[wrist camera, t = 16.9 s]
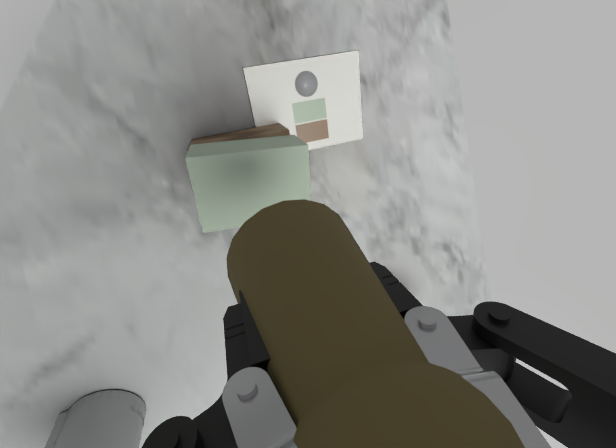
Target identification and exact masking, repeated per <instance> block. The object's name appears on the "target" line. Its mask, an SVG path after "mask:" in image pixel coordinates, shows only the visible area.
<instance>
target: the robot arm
mask: <svg viewBox="0 0 616 448" xmlns="http://www.w3.org/2000/svg"><path fill="white" fill-rule="evenodd" d="M369 264H370V265H371V267H372V269H373V271H374V272H375V274H376V276H377V277H378V279H379V280H380V282H381V284H382V285H383V287H384V289H385V290H386V292H387V294H388V295H389V297H390V298H391V300H392V302H393V303H394V305H395V307H396V308H397V310H398V311H399V313H400V315H401V316H402V317H403V319H404V321H405V323H406V325H407V326H408V328H409V330H410V331H411V333H412V335H413V336H414V338H415V339H416V341H417V343H418V344H419V346H420V348H421V349H422V351H423V353H424V355H425V356H426V358H427V360H428V362H429V363H431V364H434V365H437V366H441V367H444V368H447V369H449V370H451V371H453V372H455V373H458V374H460V375H461V376H462V377H463V378H464V379H465V380H466V381H468V382H469V383H470V384H472V385H473V386H474V387H476V388H477V389H479V390H480V391H481V392H483V393H484V394H485V395H486V396H487V397H488V398H489V399H490V400H491V401H492V402H493V403H494V405H495V406H496V407H497V408H498V409H499V410H500V411H501V412H502V413H503V414H504V415H505V417H506V418H507V419H508V420H509V421H510V422H511V423H512V425H513V427H514V429H515V431H516V432H517V434H518V436H519V438H520V439H521V441H522V443H523V445H524V447H525V448H551V447H550V445H549V444H548V442H547V441H546V440H545V438H544V437H543V435H542V434H541V433H540V431H539V430H538V428H540V429H541V430H543V431H544V432H546V433H547V434H549V435H550V436H552V437H553V438H555V439H556V440H557V441H559V442H560V443H562V444H563V445H565V446H566V447H568V448H616V354H615V353H613V352H611V351H609V350H606V349H604V348H602V347H600V346H598V345H595V344H593V343H590V342H589V341H586V340H584V339H582V338H580V337H577V336H575V335H573V334H571V333H569V332H566V331H564V330H562V329H560V328H557V327H555V326H553V325H551V324H548V323H546V322H544V321H542V320H540V319H537V318H535V317H533V316H531V315H528V314H526V313H524V312H522V311H519V310H517V309H515V308H512V307H510V306H508V305H506V304H503V303H498V302H483V303H480V304H478V305H477V306H476V307H475V309H474V313H473V315H466V316H446V315H445V314H444V313H442V312H441V311H439V310H437V309H435V308H432V307H427V306H423V305H422V304H421V303H420V302H419V301H418V300H417V299H416V298H415V297H414V296H413V295H412V294H411V293H410V292H409V291H408V290H407V289H406V288H405V287H404V286H403V285H402V284H401V283H399V281H398V280H397V278H396V277H395V276H393V274H392V273H391V272H390V271H389V270H388V269H387V268H386V267H385V266H382V265H380V264H378V263H376V262H371V263H369ZM239 296H240V302H241V303H240V304H236V305H233V306H230V307H228V309H227V311H226V313H225V316H224V318H223V320H224V330H225V331H224V334H225V347H226V361H227V374H228V379H227V383H226V385H225V387H224V390H223V393H222V395H221V396H220V398H219V399H218V400H217V401H216V402H215V403H214V404H213V405H212V406H211V407H210V408H208V409H207V410H205V411H204V412H203V413H201V414H200V415H199V416H197V417H196V418H194V419H193V420H192V419H190V418H189V417H186V416H176V417H173V418H170V419H168V420H166V421H164V422H163V423H161V424H160V425H159V426H158V427H156V428H155V429H154V430H153V431H152V433H151V434H150V435H149V436H148V438H147V439H146V441H145V443H144V444H143V446H142V448H297V445H296V444H295V443H294V441H293V439H294V435H295V432H296V429H297V428H296V426H295V424H294V422H293V420H292V418H291V416H290V415H289V413H288V411H287V409H286V407H285V405H284V403H283V401H282V399H281V398H280V396H279V394H278V392H277V390H276V388H275V386H274V384H273V382H272V381H271V378H270V376H269V373H268V371H267V366H268V364H269V361H270V359H271V358H270V355H269V353H268V351H267V349H266V346H265V344H264V342H263V339H262V337H261V335H260V333H259V330H258V328H257V326H256V324H255V321H254V319H253V317H252V314H251V312H250V310H249V308H248V305H247V303H246V301H245V298H244V296H243V294H242V292H241V290H239ZM516 358H517V359H519V360H521V361H523V362H524V363H526V364H528V365H530V366H531V367H533V368H535V369H537V370H539V371H541V372H542V373H544V374H546V375H548V376H549V377H551V378H553V379H555V380H557V381H559V382H560V383H562V384H563V385H564V386H565V387H566V388H567V389H568V390H569V391H568V390H565V389H562V388H560V387H559V386H556V385H555V384H553V383H551V382H550V381H548V380H546V379H544V378H542V377H541V376H539V375H537V374H535V373H534V372H532V371H530V370H528V369H527V368H525V367H523V366H521V365H520V364H518V363H516V362H515V361H516ZM145 412H146V407H145V404H144V402H143V400H142V399H141V398H140V397H138V396H137V395H135V394H132V393H130V392H126V391H121V390H108V391H101V392H96V393H93V394H90V395H87V396H85V397H83V398H81V399H80V400H78V401H77V402H76V403H74V404H73V406H72V407H71V408H70V409H69V410H68V411H66V412H63V413H60V414H59V416H58V419H57V421H56V423H55V425H54V428H53V430H52V432H51V434H50V437H49V439H48V441H47V444H46V446H45V448H139V444H140V439H141V433H142V428H143V425H144V417H145ZM536 426H537V427H538V428H537V427H536Z"/></svg>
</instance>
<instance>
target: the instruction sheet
mask: <svg viewBox="0 0 616 448" xmlns="http://www.w3.org/2000/svg"><path fill="white" fill-rule="evenodd" d="M243 71H244V75H245V80H246V85H247V89H248V94H249V99H250V103H251V108H252V113H253V117H254V122H255V127H260V126H265V125H271V124H276V123H280V124H282V125H283V126H284V127H286V128H287V129H289V132H290V135H293V134H294V135H295V136H297V137H298V138H299V139H301V140H302V141H304V142H305V143H306V144H308V150H312V149H317V148H321V147H326V146H330V145H335V144H339V143H344V142H349V141H353V140H358V139H362V138H363V133H362V113H361V94H360V74H359V55H358V51H351V52H344V53H338V54H331V55H325V56H318V57H312V58H305V59H298V60H292V61H285V62H279V63H272V64H266V65H259V66H252V67H246V68H243Z"/></svg>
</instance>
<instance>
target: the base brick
mask: <svg viewBox="0 0 616 448" xmlns="http://www.w3.org/2000/svg"><path fill="white" fill-rule="evenodd" d="M283 135H290V132H289V129H287V128H286V127H284V126H283V125H282V124H280V123H276V124H271V125H265V126H260V127H255V128H250V129H244V130H239V131H234V132H228V133H223V134H218V135H213V136H207V137H202V138H197V139H192V140H191V142H190V144H189V147H190V145H193V144H203V143H213V142H223V141H233V140H243V139H253V138H263V137H273V136H283ZM189 147H188V149H187V150H189Z"/></svg>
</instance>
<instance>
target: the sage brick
mask: <svg viewBox="0 0 616 448" xmlns="http://www.w3.org/2000/svg"><path fill="white" fill-rule="evenodd" d="M185 160H186V165H187V169H188V173H189V177H190V182H191V186H192V190H193V194H194V198H195V203H196V207H197V211H198V215H199V219H200V224H201V228H202V232H203V233H207V232H213V231H220V230H226V229H232V228H238V227H241V226H242V225H243V224H244V222H245V221H247V220H248V219H249V218H251V217H252V216H253V215H255V214H256V213H257V212H259V211H260V210H261V209H263V208H265V207H268V206H270V205H273V204H276V203H278V202H281V201H285V200H301V199H306V200H310V201H311V191H310V170H309V150H308V144H306V143H305V142H304V141H302V140H301V139H299V138H298V137H297V136H295V135H294V134H293V135H283V136H273V137H263V138H253V139H243V140H233V141H223V142H213V143H203V144H193V145H190V147H189V150H188V152H187V155H186V157H185Z"/></svg>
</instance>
